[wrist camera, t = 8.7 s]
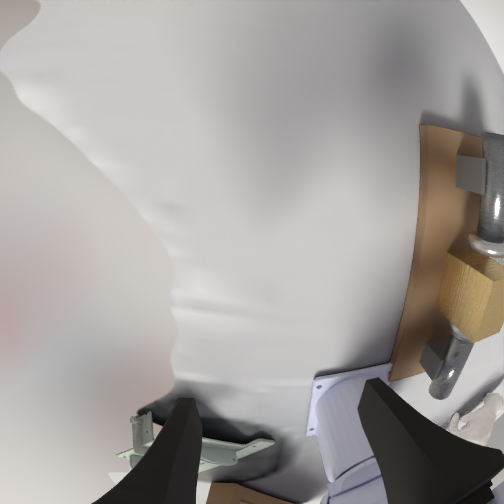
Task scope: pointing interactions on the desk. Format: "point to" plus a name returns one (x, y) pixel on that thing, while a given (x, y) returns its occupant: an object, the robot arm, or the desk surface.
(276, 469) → the desk surface
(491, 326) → the block
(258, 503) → the photo frame
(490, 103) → the desk surface
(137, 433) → the metal bracket
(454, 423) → the white sculpted piece
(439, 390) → the stand
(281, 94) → the desk surface
